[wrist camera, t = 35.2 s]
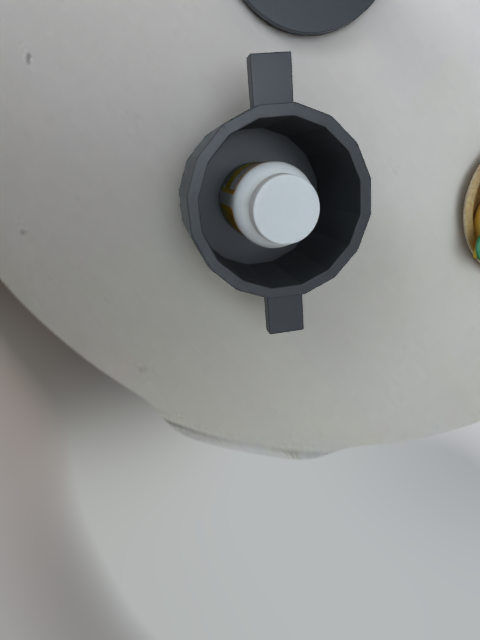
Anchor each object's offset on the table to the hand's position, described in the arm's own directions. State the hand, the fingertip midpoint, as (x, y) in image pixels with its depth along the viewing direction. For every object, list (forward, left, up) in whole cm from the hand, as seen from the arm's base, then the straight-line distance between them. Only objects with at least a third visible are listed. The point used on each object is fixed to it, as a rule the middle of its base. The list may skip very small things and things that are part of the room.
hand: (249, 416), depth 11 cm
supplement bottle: (+6, +3, -26) cm, 27 cm away
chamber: (+6, +3, -27) cm, 28 cm away
